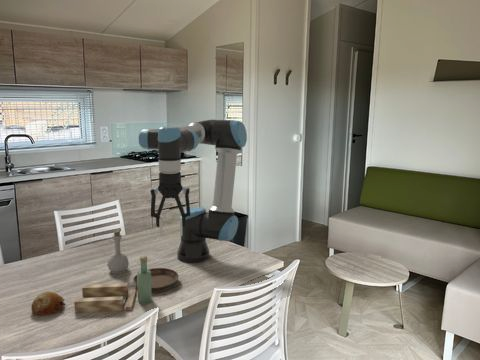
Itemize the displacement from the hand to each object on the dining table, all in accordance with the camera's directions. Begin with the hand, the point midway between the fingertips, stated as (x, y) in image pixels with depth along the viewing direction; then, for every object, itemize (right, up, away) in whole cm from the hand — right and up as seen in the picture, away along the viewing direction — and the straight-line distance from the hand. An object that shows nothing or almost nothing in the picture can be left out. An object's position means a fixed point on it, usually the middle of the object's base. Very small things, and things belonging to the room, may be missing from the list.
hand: (171, 234), depth 146 cm
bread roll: (-42, -26, -3) cm, 50 cm away
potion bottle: (-27, -19, +29) cm, 45 cm away
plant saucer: (-9, -22, +18) cm, 30 cm away
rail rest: (-24, -25, +2) cm, 34 cm away
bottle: (-10, -25, +4) cm, 27 cm away
